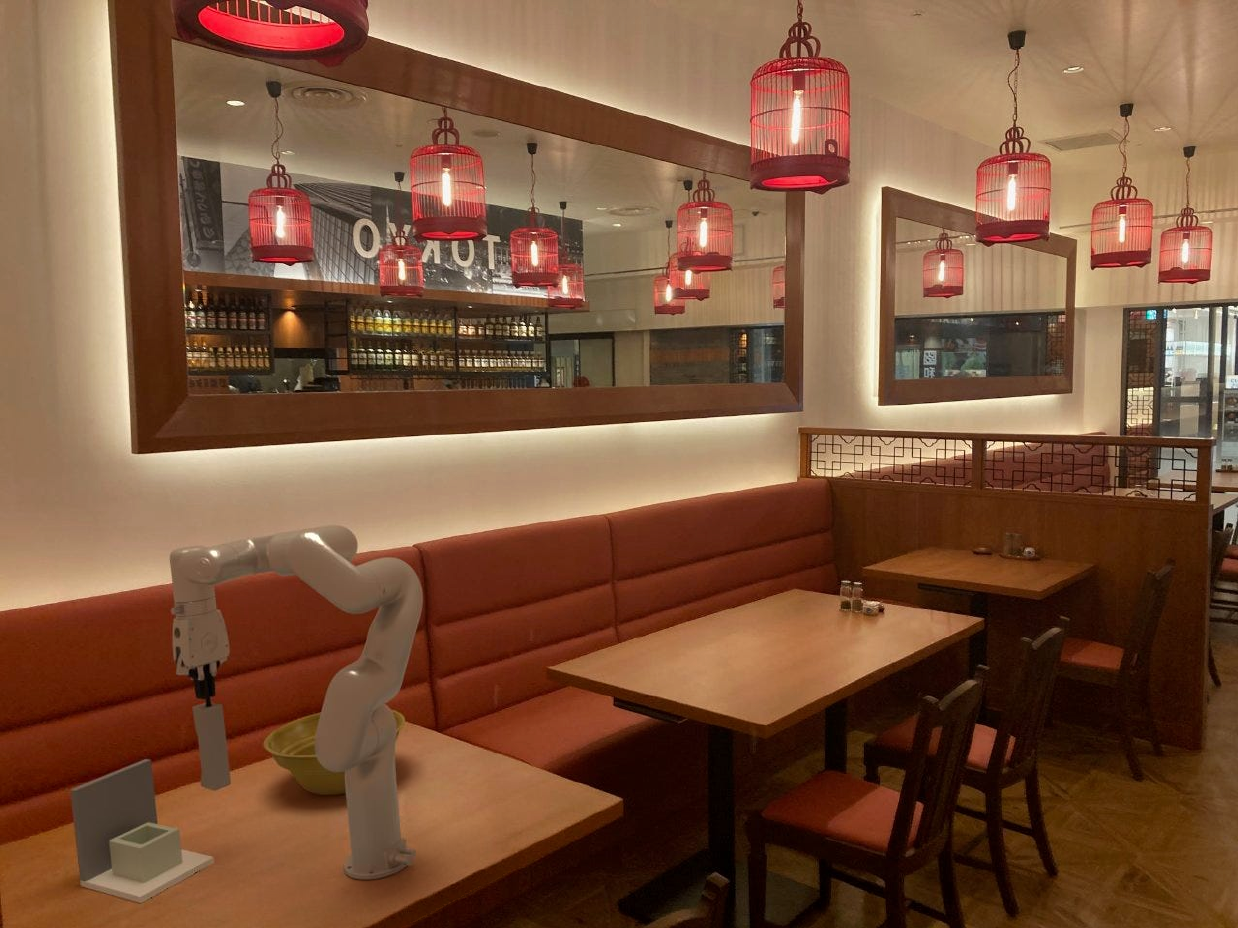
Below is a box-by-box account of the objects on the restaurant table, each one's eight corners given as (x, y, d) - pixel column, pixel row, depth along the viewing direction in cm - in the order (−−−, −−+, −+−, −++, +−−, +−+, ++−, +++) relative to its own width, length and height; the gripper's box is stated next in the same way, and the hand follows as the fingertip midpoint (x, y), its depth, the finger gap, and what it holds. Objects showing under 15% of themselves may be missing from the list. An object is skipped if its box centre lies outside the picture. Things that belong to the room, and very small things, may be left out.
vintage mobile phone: (218, 780, 193) (205, 661, 192) (231, 784, 190) (218, 664, 188) (200, 787, 190) (187, 666, 189) (214, 791, 187) (200, 669, 186)
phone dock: (214, 862, 186) (204, 768, 185) (140, 903, 172) (130, 802, 171) (155, 848, 194) (145, 758, 193) (80, 885, 180) (70, 789, 179)
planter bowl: (337, 823, 200) (331, 762, 199) (239, 800, 217) (233, 744, 216) (437, 767, 228) (432, 714, 227) (343, 751, 244) (338, 701, 243)
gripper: (174, 617, 179) (185, 710, 180) (239, 599, 193) (249, 686, 194) (149, 616, 183) (160, 707, 184) (215, 599, 196) (224, 684, 197)
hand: (205, 696), depth 189 cm, fingers closed on vintage mobile phone, 1 cm apart
